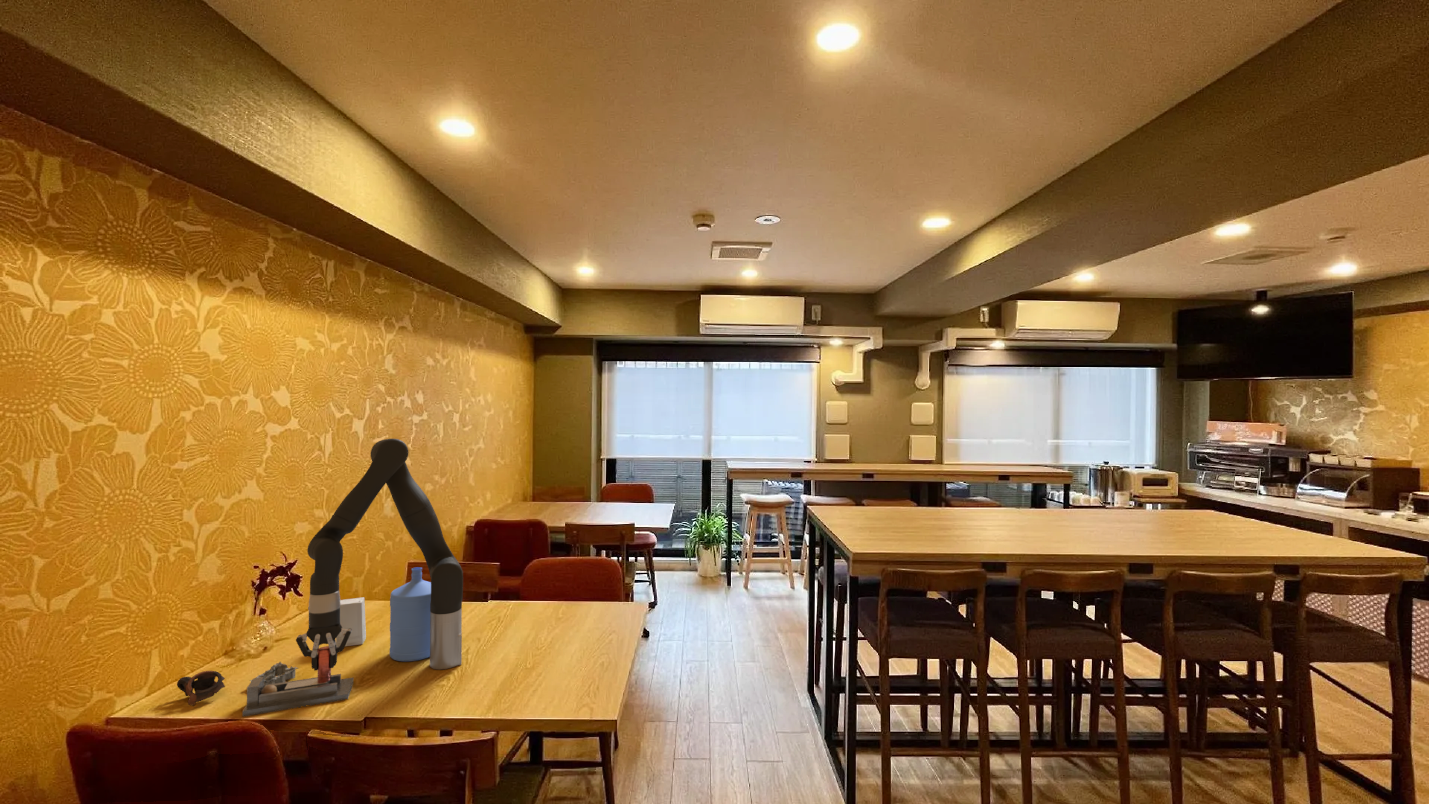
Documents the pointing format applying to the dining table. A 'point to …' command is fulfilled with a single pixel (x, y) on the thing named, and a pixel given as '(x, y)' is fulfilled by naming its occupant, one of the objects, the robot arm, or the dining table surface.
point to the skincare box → (352, 621)
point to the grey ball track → (294, 695)
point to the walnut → (269, 689)
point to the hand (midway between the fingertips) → (324, 667)
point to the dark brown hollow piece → (201, 686)
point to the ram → (323, 672)
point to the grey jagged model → (278, 669)
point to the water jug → (410, 619)
